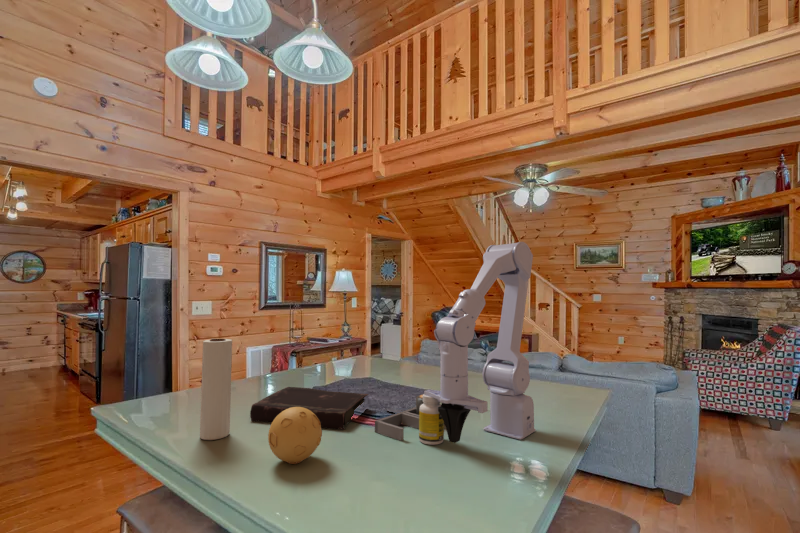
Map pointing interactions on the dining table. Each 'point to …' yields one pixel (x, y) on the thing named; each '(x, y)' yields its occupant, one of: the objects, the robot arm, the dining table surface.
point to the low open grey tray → (399, 421)
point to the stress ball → (294, 434)
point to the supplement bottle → (430, 422)
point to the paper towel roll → (216, 389)
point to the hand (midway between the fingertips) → (454, 441)
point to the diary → (310, 405)
